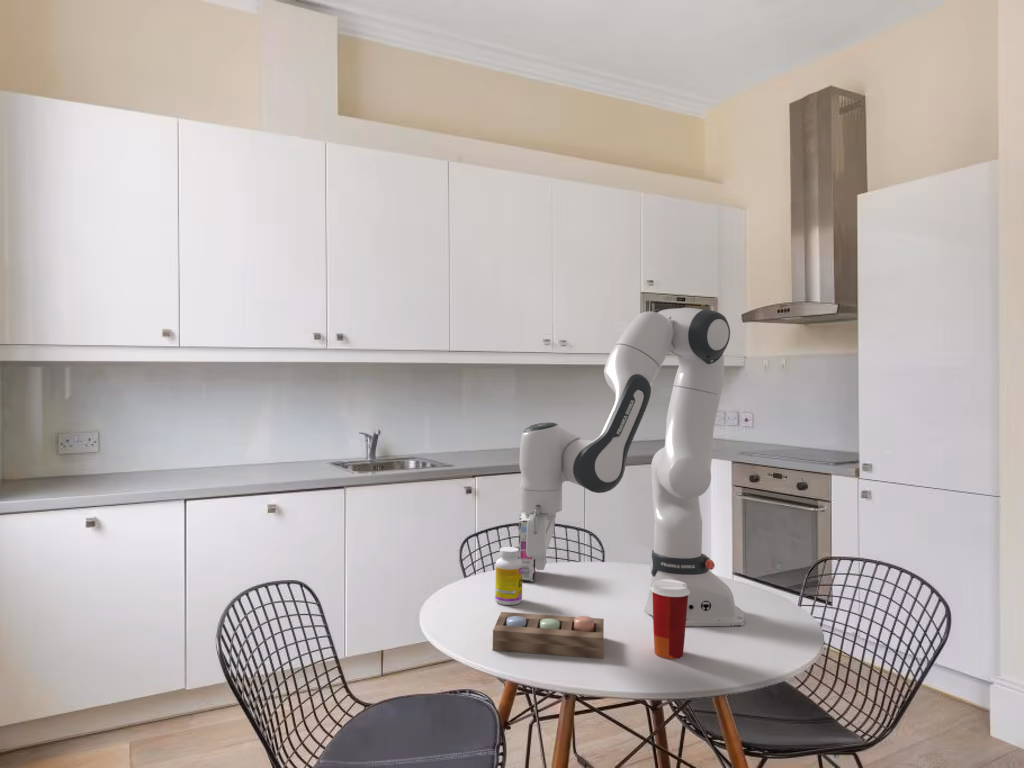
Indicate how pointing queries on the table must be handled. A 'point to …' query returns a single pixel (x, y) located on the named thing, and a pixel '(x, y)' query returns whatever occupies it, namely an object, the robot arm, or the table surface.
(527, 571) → the candy bar box
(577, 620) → the button terracotta
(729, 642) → the table surface
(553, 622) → the button sage
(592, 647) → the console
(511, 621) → the button slate
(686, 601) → the paper cup
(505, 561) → the supplement bottle
